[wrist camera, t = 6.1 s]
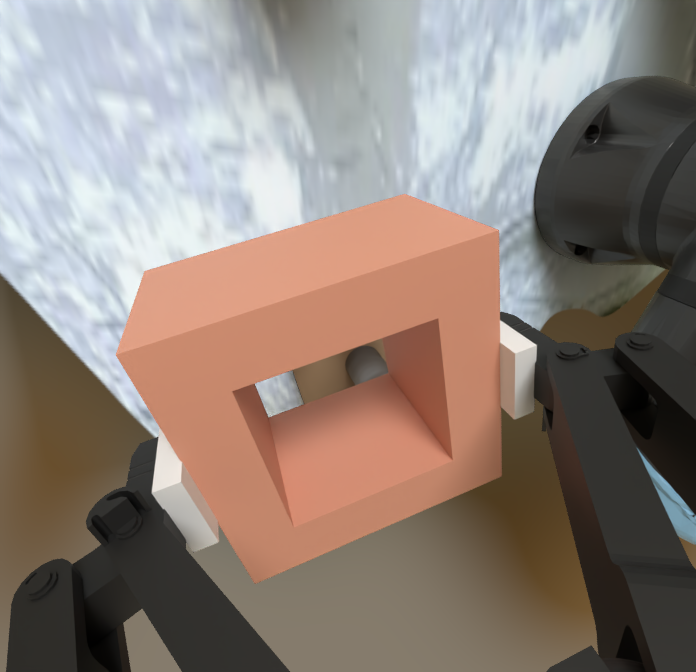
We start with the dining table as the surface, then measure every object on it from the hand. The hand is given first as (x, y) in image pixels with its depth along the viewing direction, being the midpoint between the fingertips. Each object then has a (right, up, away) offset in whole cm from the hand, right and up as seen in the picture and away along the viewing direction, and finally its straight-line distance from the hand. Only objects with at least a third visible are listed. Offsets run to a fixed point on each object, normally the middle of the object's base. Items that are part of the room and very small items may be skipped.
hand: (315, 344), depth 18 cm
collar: (0, 0, 0) cm, 0 cm away
